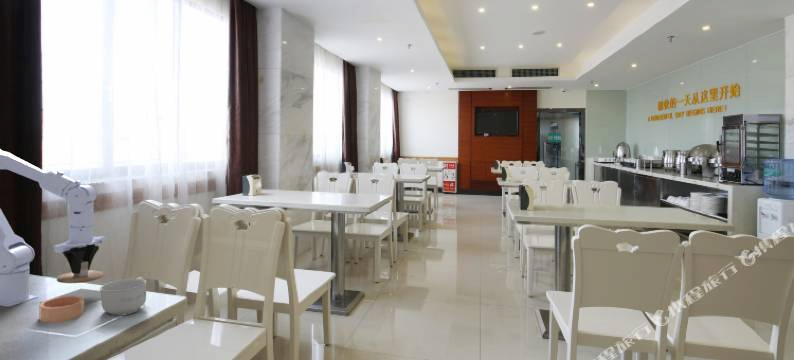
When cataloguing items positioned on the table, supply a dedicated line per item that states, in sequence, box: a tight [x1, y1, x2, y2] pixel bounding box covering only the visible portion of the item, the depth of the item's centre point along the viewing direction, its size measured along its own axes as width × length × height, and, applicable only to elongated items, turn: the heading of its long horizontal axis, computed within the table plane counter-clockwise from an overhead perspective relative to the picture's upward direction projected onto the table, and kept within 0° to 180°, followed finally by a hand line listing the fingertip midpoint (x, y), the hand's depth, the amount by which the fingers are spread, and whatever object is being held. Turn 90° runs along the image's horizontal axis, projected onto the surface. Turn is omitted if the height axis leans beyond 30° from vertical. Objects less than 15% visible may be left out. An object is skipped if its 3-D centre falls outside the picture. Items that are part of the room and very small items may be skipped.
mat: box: [39, 288, 101, 307], centre depth 123 cm, size 13×13×1 cm
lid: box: [56, 261, 105, 284], centre depth 123 cm, size 11×11×5 cm
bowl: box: [38, 296, 85, 323], centre depth 110 cm, size 9×9×4 cm
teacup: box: [99, 276, 148, 316], centre depth 117 cm, size 14×11×8 cm
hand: (80, 271), depth 123 cm, fingers closed on lid, 2 cm apart
